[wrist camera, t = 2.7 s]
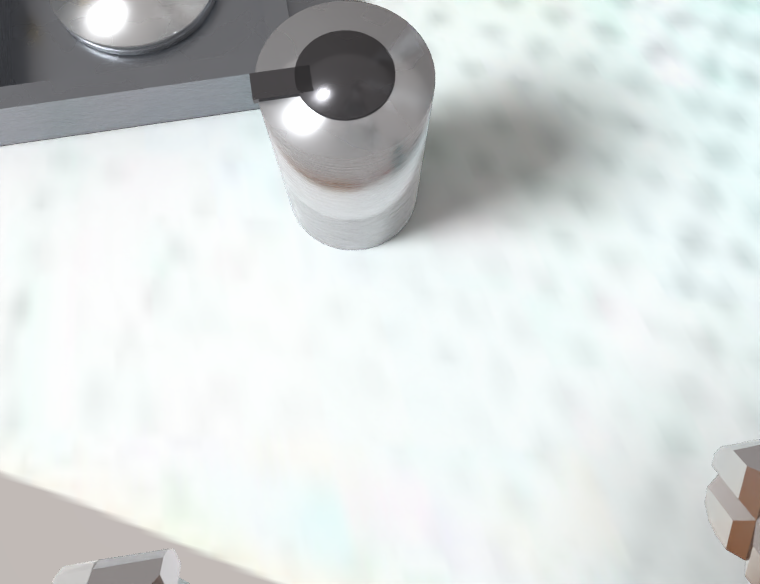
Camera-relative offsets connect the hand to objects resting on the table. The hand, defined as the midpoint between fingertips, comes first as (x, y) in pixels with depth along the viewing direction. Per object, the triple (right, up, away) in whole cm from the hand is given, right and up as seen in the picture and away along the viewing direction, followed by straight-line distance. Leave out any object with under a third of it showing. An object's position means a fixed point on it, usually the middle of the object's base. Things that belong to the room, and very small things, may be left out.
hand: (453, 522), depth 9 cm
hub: (-2, +8, +17) cm, 19 cm away
